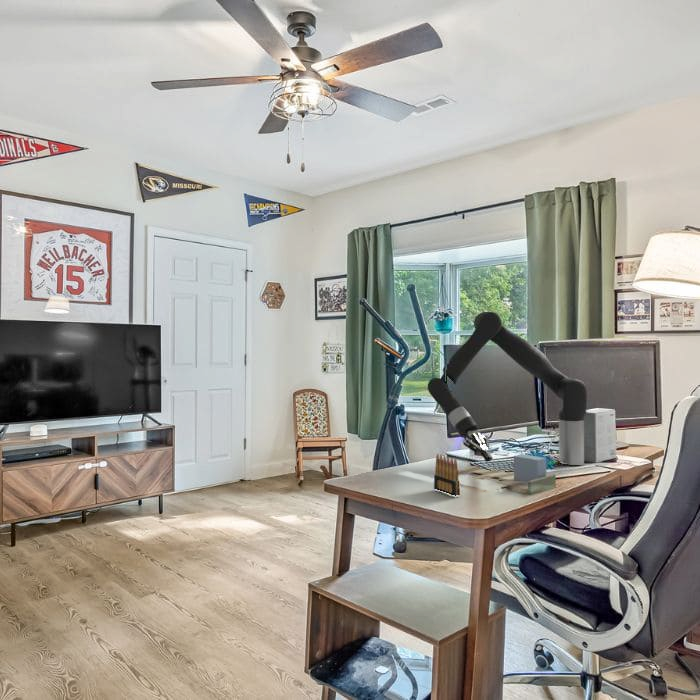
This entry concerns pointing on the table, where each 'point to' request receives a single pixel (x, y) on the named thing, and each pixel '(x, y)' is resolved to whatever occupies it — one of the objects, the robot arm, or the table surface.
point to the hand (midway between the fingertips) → (490, 460)
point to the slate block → (529, 467)
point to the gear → (544, 457)
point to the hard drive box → (599, 435)
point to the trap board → (514, 485)
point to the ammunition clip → (446, 476)
